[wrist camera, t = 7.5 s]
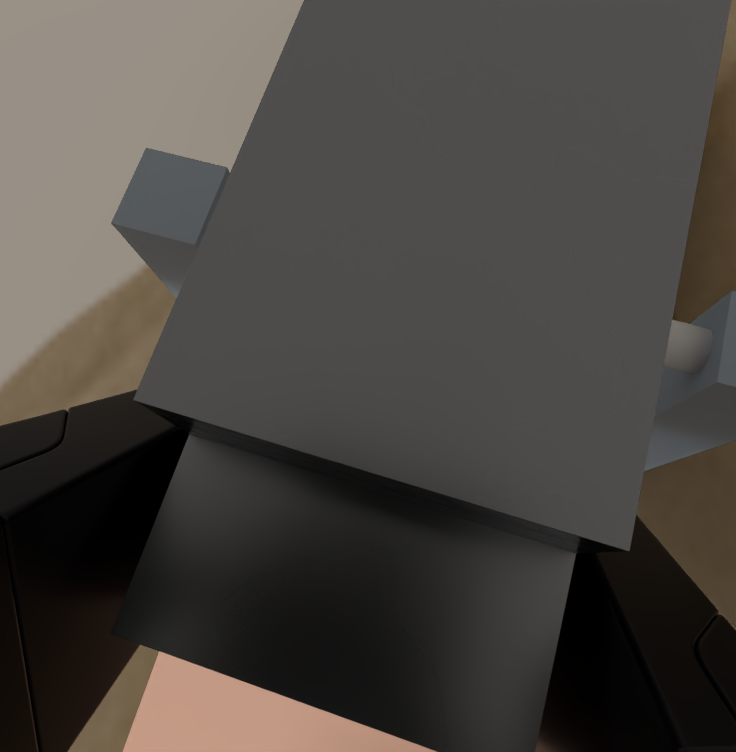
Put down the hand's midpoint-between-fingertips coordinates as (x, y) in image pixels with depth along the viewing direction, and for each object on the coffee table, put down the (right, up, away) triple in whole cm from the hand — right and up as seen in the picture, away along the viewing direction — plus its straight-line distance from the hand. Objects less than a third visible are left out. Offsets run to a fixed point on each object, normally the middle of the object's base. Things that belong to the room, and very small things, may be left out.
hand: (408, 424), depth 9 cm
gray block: (0, -2, +6) cm, 7 cm away
